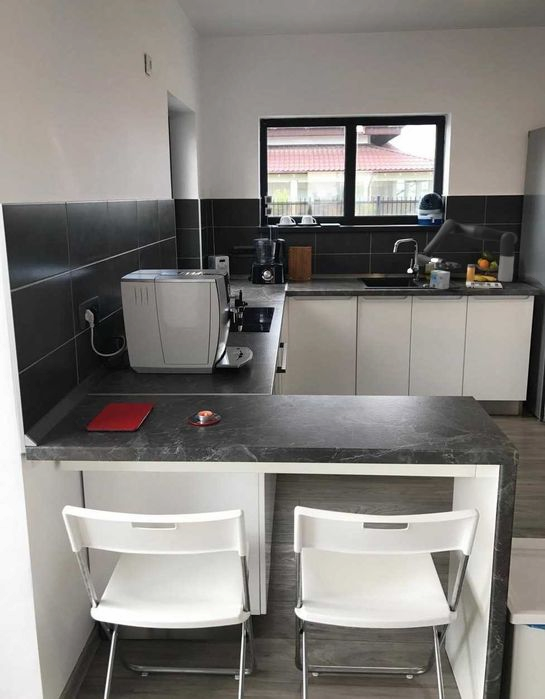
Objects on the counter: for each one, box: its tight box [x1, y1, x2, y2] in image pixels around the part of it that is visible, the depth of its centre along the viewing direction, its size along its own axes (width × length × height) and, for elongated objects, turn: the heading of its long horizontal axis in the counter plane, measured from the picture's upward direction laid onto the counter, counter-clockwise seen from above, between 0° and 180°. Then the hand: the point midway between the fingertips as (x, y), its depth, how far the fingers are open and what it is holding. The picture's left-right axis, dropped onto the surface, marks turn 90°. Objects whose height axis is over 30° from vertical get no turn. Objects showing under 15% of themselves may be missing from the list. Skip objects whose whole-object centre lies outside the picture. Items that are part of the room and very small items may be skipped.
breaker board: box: [465, 281, 503, 289], centre depth 451 cm, size 22×14×3 cm, turn 78°
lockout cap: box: [465, 263, 476, 283], centre depth 463 cm, size 5×5×12 cm
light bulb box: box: [429, 269, 451, 290], centre depth 443 cm, size 11×7×11 cm, turn 37°
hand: (457, 266), depth 471 cm, fingers open, 8 cm apart
